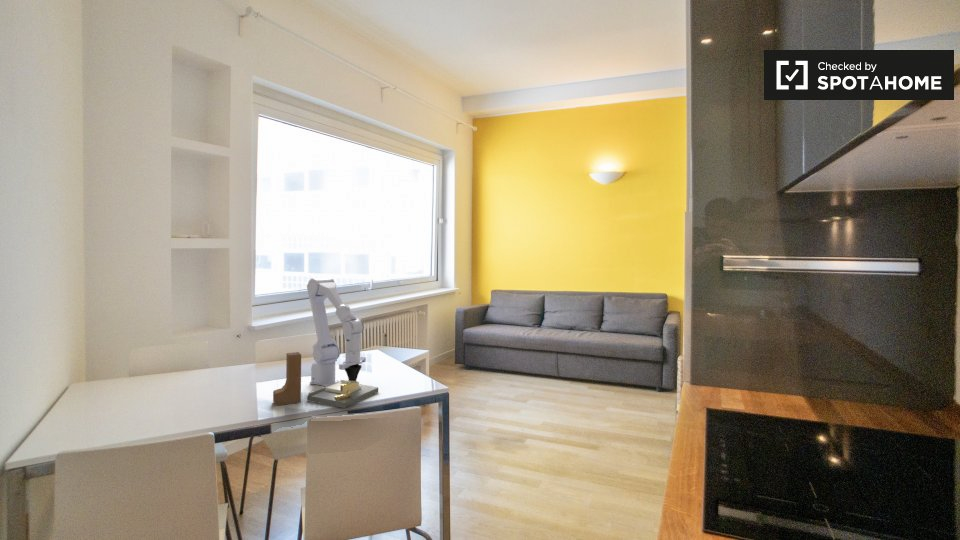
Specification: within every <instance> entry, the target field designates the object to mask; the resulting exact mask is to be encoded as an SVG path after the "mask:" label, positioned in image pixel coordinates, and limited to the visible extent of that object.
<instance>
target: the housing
mask: <svg viewBox="0 0 960 540" xmlns="http://www.w3.org/2000/svg"><path fill="white" fill-rule="evenodd" d="M339 382H341V380H339V381H338V382H336V383H339ZM336 383H333V384H330V385H328V386H331V385H334V384H336ZM359 385H361V389H359V390H356V391H354V392H351V393H350V398H343V399H339V400H335V399H334V396H338V395H342V394H340V393H335V392H330V391H325V388H326V387H328V386H323V387H320V388H318V389H315V390H313V391H310V392H308V393H307V395H306V397H307V398H306V399H307V400H308V402H312V403H318V404H322V405H327V406H332V407H336V408H337V407H338V408H343V409H345V408H347V407H349V406H352V405H353V404H356V403H358V402H360V401H363V400H365V399H367V398H369V397H372V396H374V395H375V393H376V394H377V392H378V393H379V387H377V386H372V385H367V384H360V383H359ZM373 394H374V395H373ZM307 400H306V401H307Z"/></svg>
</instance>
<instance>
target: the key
mask: <svg viewBox="0 0 960 540" xmlns="http://www.w3.org/2000/svg"><path fill="white" fill-rule="evenodd" d="M357 382H358V381H357ZM357 382H350V383H346V384H341V386H340V391H341V392H344V391H347V393H346V394H342V395H338V396H334V399H335V400H339V399H343V398H350V390H353V389H357Z"/></svg>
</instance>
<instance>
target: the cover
mask: <svg viewBox="0 0 960 540" xmlns="http://www.w3.org/2000/svg"><path fill="white" fill-rule="evenodd" d="M340 381H341V382H339V383H336V384H334V385H331V386H328V387H326V388H325V391H330V392H335V393H340V394H346V393H347V391H344V392H341V391H340V386H341V384H346V383H350V382H357V389H353V390H350V393H351V392H354V391H356V390H359V389H361V385H362V384H361V385H359V384H360V381H357V380H356V381H352V380H349V379H345V378H341V379H340Z"/></svg>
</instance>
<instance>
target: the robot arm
mask: <svg viewBox="0 0 960 540" xmlns="http://www.w3.org/2000/svg"><path fill="white" fill-rule="evenodd" d="M306 288H307V295H308V300H310V306H311V312H312V317H313V322H314V327H315V332H316V338H317V340H316V342H315V343H314V344H313V346H312V349H313V350H312V357H313V360H314V361H313V363H312V364H311V368H310V372H311V373H310V382H309V384H312V385H318V386H323V387H325V386H328V385H330V384H333V383H336V382H338V381H340V379H336V362H338V359H339V358H340V355H341V351H340V348H339V346H338V342H337V341H336V340H335V339H334V338H332V335H331V332H330V326H329V321H328V316H327V311H326V306H325V300H326V299H328V300H329V301H330V303H331V304H332V305H333V307H334V308H335V315H336V316H337V317H338V319H339V321H340V322H341V325H342V332H343V334H344V339H345V360H344V361H343V362H341V363H340V364H338V369H339V370H344V371H345V373H346V375H347V378H348V379H347V380H352V381H357V379H358V375H359V373H360V371H361V370H362V364H363V363H367V362H366V361H367V358H366V357H365V356H361V345H362V344H361V339H362V338H361V337H362V335H361V334H362V333H363V331H364V330H365V325H364V322H363V320H362V319H361V318H358V317H357V316H355V314H354V313H353V311H352V310H351V308H350V306H349V305H347V304H344V302H343V301H342V298H341V297H340V294H339V293H338V291H337V284H336V282H335V280H334V279H333V277H320V278H319V277H317V278H315V277H314V278H310V279H309V280H308V282H307V284H306Z"/></svg>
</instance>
